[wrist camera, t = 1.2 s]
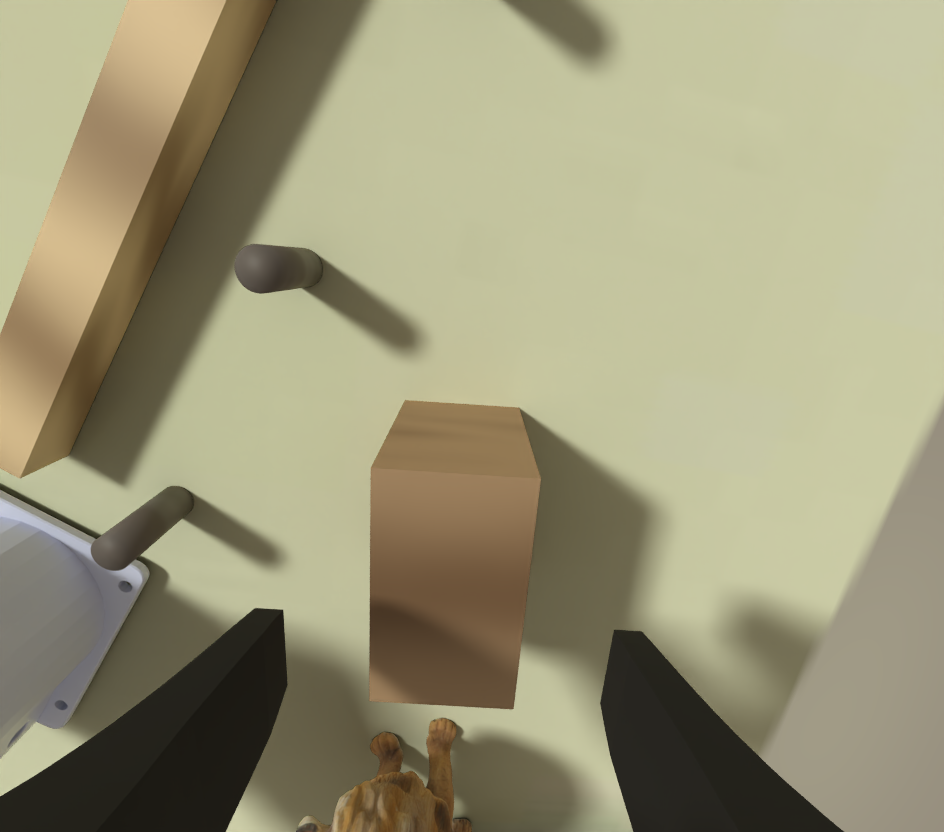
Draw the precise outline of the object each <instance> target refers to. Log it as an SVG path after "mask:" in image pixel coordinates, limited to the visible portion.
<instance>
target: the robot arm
mask: <svg viewBox="0 0 944 832" xmlns="http://www.w3.org/2000/svg"><path fill="white" fill-rule="evenodd" d="M95 540H96V539H95V538H93V537H91V536H89V535H87V534H85V533H83V532H81V531H79V530H77V529H75V528H73V527H71V526H69V525H68V524H66V523H64V522H62V521H60V520H58V519H56V518H54V517H52V516H50V515H48V514H46V513H44V512H42V511H40V510H38V509H36V508H34V507H33V506H31V505H29V504H27V503H25V502H23V501H21V500H19V499H17V498H15V497H13V496H11V495H9V494H7V493H5V492H3V491H1V490H0V759H1V758H2V757H3V756H4V755H5V754H6V753H7V752H8V750H9V749H10V748H11V747H12V746H13V745H14V744H15V743H16V742H17V741H18V740H19V739H20V738H21V737H22V736H23V735H24V734H25V733H26V732H27V731H28V730H29V728H30V727H31V726H32V725H33V724H34V723H35V722H38V723H40V724H43V725H45V726H47V727H50V728H53V729H58V728H62V727H63V726H64V725H65V724H66V723H67V722H68V721H69V720H70V719H71V717H72V715H73V713H74V712H75V710H76V708H77V706H78V704H79V703H80V701H81V699H82V697H83V695H84V694H85V692H86V690H87V688H88V686H89V685H90V683H91V681H92V679H93V677H94V675H95V674H96V672H97V670H98V668H99V666H100V665H101V663H102V661H103V659H104V657H105V656H106V654H107V652H108V650H109V648H110V647H111V645H112V643H113V641H114V639H115V638H116V636H117V634H118V632H119V630H120V629H121V627H122V625H123V623H124V621H125V620H126V618H127V616H128V614H129V612H130V611H131V609H132V607H133V605H134V603H135V601H136V600H137V598H138V596H139V594H140V592H141V591H142V589H143V587H144V585H145V583H146V582H147V580H148V578H149V570H148V568H147V567H146V565H144V564H143V563H141V562H140V561H138V560H136V559H135V560H134V561H133V562H132V563H131V564H129V565H128V566H127V567H126V568H124V569H122V570H119V571H111V570H107V569H105V568H103V567H101V566H99V565H98V564H97V563H96V562H95V561H94V559H93V557H92V555H91V545H92V543H93V542H94V541H95ZM126 581H127V582H129V583H130V584H131V585H132V586H131V585H129V584H128V583H126ZM286 688H287V669H286V651H285V633H284V616H283V610H277V609H260V608H255V609H253V610H252V611H251V612H250V613H249V614H247V615H246V616H245V617H244V618H243V619H241V620H240V621H239V622H238V623H237V624H235V625H234V626H233V627H232V628H231V629H229V630H228V631H227V632H226V633H225V634H224V635H222V636H221V637H220V638H219V639H218V640H217V641H215V642H214V643H213V644H212V645H211V646H209V647H208V648H207V649H206V650H205V651H204V652H202V653H201V654H200V655H199V656H198V657H196V658H195V659H194V660H193V661H192V662H190V663H189V664H188V665H187V666H185V667H184V668H183V669H182V670H181V671H179V672H178V673H177V674H176V675H174V676H173V677H172V678H171V679H170V680H168V681H167V682H166V683H165V684H163V685H162V686H161V687H160V688H158V689H157V690H156V691H154V692H153V693H152V694H150V695H149V696H148V697H146V698H145V699H144V700H143V701H141V702H140V703H139V704H137V705H136V706H135V707H133V708H132V709H131V710H129V711H128V712H127V713H126V714H124V715H123V716H122V717H120V718H119V719H118V720H116V721H115V722H114V723H112V724H111V725H109V726H108V727H107V728H105V729H104V730H102V731H101V732H100V733H98V734H97V735H95V736H94V737H92V738H91V739H89V740H88V741H87V742H85V743H84V744H82V745H81V746H79V747H78V748H76V749H75V750H73V751H72V752H70V753H69V754H67V755H66V756H64V757H63V758H61V759H60V760H58V761H57V762H55V763H54V764H52V765H51V766H49V767H48V768H46V769H45V770H43V771H41V772H40V773H38V774H37V775H35V776H34V777H32V778H30V779H29V780H27V781H25V782H24V783H22V784H20V785H19V786H17V787H15V788H14V789H12V790H10V791H9V792H7V793H5V794H4V795H2V796H0V832H226V830H227V828H228V825H229V823H230V821H231V819H232V817H233V815H234V813H235V811H236V808H237V806H238V804H239V802H240V800H241V798H242V796H243V793H244V791H245V789H246V787H247V785H248V783H249V781H250V779H251V776H252V774H253V772H254V770H255V768H256V765H257V763H258V761H259V759H260V757H261V755H262V752H263V750H264V748H265V746H266V744H267V741H268V739H269V737H270V735H271V732H272V729H273V726H274V723H275V720H276V718H277V715H278V712H279V709H280V706H281V703H282V700H283V697H284V694H285V691H286ZM600 704H601V709H602V715H603V720H604V726H605V731H606V736H607V741H608V746H609V751H610V756H611V759H612V763H613V766H614V769H615V773H616V776H617V779H618V783H619V786H620V789H621V793H622V796H623V799H624V802H625V806H626V809H627V812H628V815H629V819H630V822H631V825H632V828H633V832H844V831H842V830H841V829H840V828H839V827H837V826H836V825H835V824H834V823H833V822H831V821H830V820H829V819H828V818H827V817H825V816H824V815H823V814H822V813H821V812H820V811H819V810H817V809H816V808H815V807H814V806H813V805H811V803H809V802H808V801H807V800H806V799H805V798H804V797H803V796H801V795H800V794H799V793H798V792H797V791H796V790H795V789H793V788H792V787H791V786H790V785H789V784H788V783H787V782H785V781H784V780H783V779H782V778H781V777H780V776H779V775H778V774H777V773H776V772H775V771H774V770H772V769H771V768H770V767H769V766H768V765H767V764H766V763H765V762H764V761H763V760H762V759H761V758H760V757H759V756H758V755H757V754H756V753H755V752H754V751H753V750H752V749H751V748H750V747H749V746H748V745H747V744H746V743H745V742H744V741H743V740H742V739H740V738H739V737H738V736H737V735H736V734H735V733H734V732H733V730H732V729H731V728H730V727H729V726H728V725H727V724H726V723H725V722H724V721H723V720H722V719H721V718H720V717H719V716H718V715H717V714H716V713H715V712H714V711H713V710H712V709H711V708H710V707H709V706H708V704H707V703H706V702H705V701H704V700H703V699H702V698H701V697H700V696H699V695H698V694H697V693H696V692H695V690H694V689H693V688H692V687H691V686H690V685H689V684H688V683H687V682H686V681H685V679H684V678H683V677H682V676H681V675H680V674H679V673H678V672H677V670H676V669H675V668H674V667H673V666H672V665H671V664H670V663H669V661H668V660H667V659H666V658H665V657H664V656H663V655H662V654H661V652H660V651H659V650H658V649H657V648H656V647H655V646H654V644H653V643H652V642H651V641H650V640H649V639H648V638H647V637H646V636H645V634H644V633H643V632H641V631H625V630H614V633H613V638H612V644H611V649H610V654H609V660H608V665H607V670H606V676H605V681H604V686H603V692H602V697H601V702H600Z"/></svg>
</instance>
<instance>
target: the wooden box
mask: <svg viewBox="0 0 944 832" xmlns="http://www.w3.org/2000/svg"><path fill="white" fill-rule="evenodd" d="M540 483H541V477H540V474H539V471H538V468H537V464H536V461H535V458H534V455H533V451H532V448H531V445H530V442H529V438H528V435H527V432H526V429H525V425H524V422H523V419H522V416H521V413H520V409H519V408H515V407H500V406H484V405H469V404H454V403H439V402H424V401H408V400H405V401H404V403H403V405H402V407H401V409H400V411H399V413H398V415H397V417H396V419H395V421H394V423H393V425H392V427H391V429H390V431H389V433H388V435H387V437H386V439H385V441H384V443H383V445H382V447H381V449H380V451H379V453H378V455H377V457H376V459H375V461H374V463H373V465H372V467H371V517H370V666H369V701H377V702H394V703H412V704H429V705H447V706H465V707H482V708H500V709H513V708H514V700H515V692H516V683H517V675H518V667H519V658H520V650H521V642H522V633H523V625H524V617H525V608H526V600H527V591H528V583H529V575H530V566H531V558H532V550H533V541H534V533H535V525H536V516H537V508H538V500H539V491H540Z"/></svg>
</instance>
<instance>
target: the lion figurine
mask: <svg viewBox="0 0 944 832" xmlns="http://www.w3.org/2000/svg"><path fill="white" fill-rule="evenodd" d="M455 736H456V725H455V724H454V723H453V722H452V721H450V720H448V719H445V718H439V719H436V720H433V721H431V723H430V726H429V735H428V737H427V743H426V744H427V748H428V754H429V766H430V770H429V780H428V784H427V787H426V788H425V787H424V784H423V781H422V780H421V779H420V778H419V777H418V776H417V774H416V773H415V772H413V771H409V772H406V773H404V774H403V773H400V769H401V764H402V761H403V751H402V750H401V747H400V744H399V741H398V739H397V737H396V736H395V735H394V734H393V733H386V732H382V733H381V734H379V735H377V736H376V737H375V738H374V739H373V741H372V743H371V745H370V749H371V751H372V753H374V754H375V755H377V756H378V757H379V760H380V766H379V770H378V773H377V776H376V777H375V778H374V779H372V780H370V781H364V782H363V783H362V784H360V785H356V786H355V787H354V789H352V790H349V791H347V792H346V793H345V794H344V795H342V796H341V797H340V798H339V800H338V803H337V806H336V809H335V813H334V818H333V822H332V824H331V825H325V824H322V823H320V822H319V821H318V820H317V819H316V818H315V817H313V816H305V817H304V818H303V819H302V820H301V822H300V824H299V826H298V828H297V831H296V832H471V830H472V826H471V823H470V822H469V821H468V820H467V819H453V820H452V817H453V810H454V794H453V785H452V768H451V762H450V749H451V744H452V742H453V740H454V738H455Z"/></svg>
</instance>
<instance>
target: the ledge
mask: <svg viewBox="0 0 944 832" xmlns="http://www.w3.org/2000/svg"><path fill="white" fill-rule="evenodd" d="M276 1H277V0H128V2H127V4H126V7H125V10H124V12H123V15H122V17H121V20H120V23H119V25H118V28H117V31H116V33H115V36H114V38H113V41H112V44H111V46H110V49H109V51H108V54H107V57H106V59H105V62H104V65H103V67H102V70H101V72H100V75H99V78H98V80H97V83H96V85H95V88H94V91H93V93H92V96H91V99H90V101H89V104H88V106H87V109H86V112H85V114H84V117H83V120H82V122H81V125H80V127H79V130H78V133H77V135H76V138H75V140H74V143H73V146H72V148H71V151H70V154H69V156H68V159H67V161H66V164H65V167H64V169H63V172H62V174H61V177H60V180H59V182H58V185H57V188H56V190H55V193H54V195H53V198H52V201H51V203H50V206H49V209H48V211H47V214H46V216H45V219H44V222H43V224H42V227H41V229H40V232H39V235H38V237H37V240H36V243H35V245H34V248H33V250H32V253H31V256H30V258H29V261H28V264H27V266H26V269H25V271H24V274H23V277H22V279H21V282H20V284H19V287H18V290H17V292H16V295H15V298H14V300H13V303H12V305H11V308H10V311H9V313H8V316H7V318H6V321H5V324H4V326H3V329H2V332H1V334H0V468H1V469H3V470H5V471H6V472H8V473H10V474H12V475H14V476H16V477H18V478H22V477H24V476H26V475H28V474H30V473H33V472H35V471H37V470H39V469H41V468H43V467H45V466H47V465H49V464H51V463H54V462H56V461H58V460H60V459H62V458H64V457H66V456H68V455H69V454H70V451H71V449H72V447H73V445H74V443H75V440H76V438H77V436H78V434H79V432H80V430H81V427H82V425H83V423H84V421H85V419H86V416H87V414H88V412H89V410H90V408H91V405H92V403H93V401H94V399H95V397H96V395H97V392H98V390H99V388H100V386H101V384H102V381H103V379H104V377H105V375H106V373H107V370H108V368H109V366H110V364H111V362H112V360H113V357H114V355H115V353H116V351H117V349H118V346H119V344H120V342H121V340H122V338H123V335H124V333H125V331H126V329H127V327H128V325H129V322H130V320H131V318H132V316H133V314H134V311H135V309H136V307H137V305H138V303H139V300H140V298H141V296H142V294H143V292H144V290H145V287H146V285H147V283H148V281H149V279H150V276H151V274H152V272H153V270H154V268H155V265H156V263H157V261H158V259H159V257H160V255H161V252H162V250H163V248H164V246H165V244H166V241H167V239H168V237H169V235H170V233H171V230H172V228H173V226H174V224H175V222H176V220H177V217H178V215H179V213H180V211H181V209H182V206H183V204H184V202H185V200H186V198H187V195H188V193H189V191H190V189H191V187H192V185H193V182H194V180H195V178H196V176H197V174H198V171H199V169H200V167H201V165H202V163H203V160H204V158H205V156H206V154H207V152H208V150H209V147H210V145H211V143H212V141H213V139H214V136H215V134H216V132H217V130H218V128H219V125H220V123H221V121H222V119H223V117H224V114H225V112H226V110H227V108H228V106H229V104H230V101H231V99H232V97H233V95H234V93H235V90H236V88H237V86H238V84H239V82H240V79H241V77H242V75H243V73H244V71H245V69H246V66H247V64H248V62H249V60H250V58H251V55H252V53H253V51H254V49H255V47H256V44H257V42H258V40H259V38H260V36H261V34H262V31H263V29H264V27H265V25H266V23H267V20H268V18H269V16H270V14H271V12H272V9H273V7H274V5H275V3H276ZM235 272H236V275H237V278H238V280H239V281H240V283H241V284H242V285H243V286H244V287H245V288H247V289H248V290H250V291H252V292H255V293H270V292H276V291H283V290H290V289H297V288H304V287H310V286H313V285H315V284H316V283H317V282H318V281H319V280H320V278H321V276H322V272H323V268H322V263H321V261H320V259H319V257H318V256H317V255H316V254H315V253H314V252H313V251H311V250H309V249H305V248H295V247H284V246H273V245H261V244H251V245H248V246H245V247H244V248H242V249H241V250H240V251H239V253H238V254H237V256H236V259H235ZM192 508H193V498H192V496H191V494H190V493H189V492H188V491H187V490H185V489H184V488H182V487H178V486H170V487H167V488H166V489H164V490H163V491H162V492H160V493H159V494H158V495H156V496H155V497H153V498H152V499H151V500H149V501H148V502H147V503H145V504H144V505H143V506H141V507H140V508H138V509H137V510H136V511H134V512H133V513H132V514H130V515H129V516H128V517H126V518H125V519H123V520H122V521H121V522H119V523H118V524H117V525H115V526H114V527H113V528H111V529H110V530H108V531H107V532H106V533H104V534H103V535H102V536H100V537H99V538H98V539H96V540H95V541H94V542H93V543H92V545H91V555H92V557H93V559H94V561H95V562H96V563H97V564H98V565H99V566H101V567H103V568H105V569H107V570H111V571H119V570H122V569H124V568H126V567H127V566H128V565H129V564H131V563H132V562H133V561H134V560H135V559H136V558H137V557H139V556H140V555H141V554H142V553H143V552H144V551H145V550H147V549H148V548H149V547H150V546H151V545H152V544H153V543H155V542H156V541H157V540H158V539H159V538H160V537H161V536H163V535H164V534H165V533H166V532H167V531H168V530H169V529H171V528H172V527H173V526H174V525H175V524H176V523H177V522H179V521H180V520H181V519H182V518H183V517H184V516H185V515H186V514H188V513H189V512H190V511H191V510H192Z"/></svg>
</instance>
